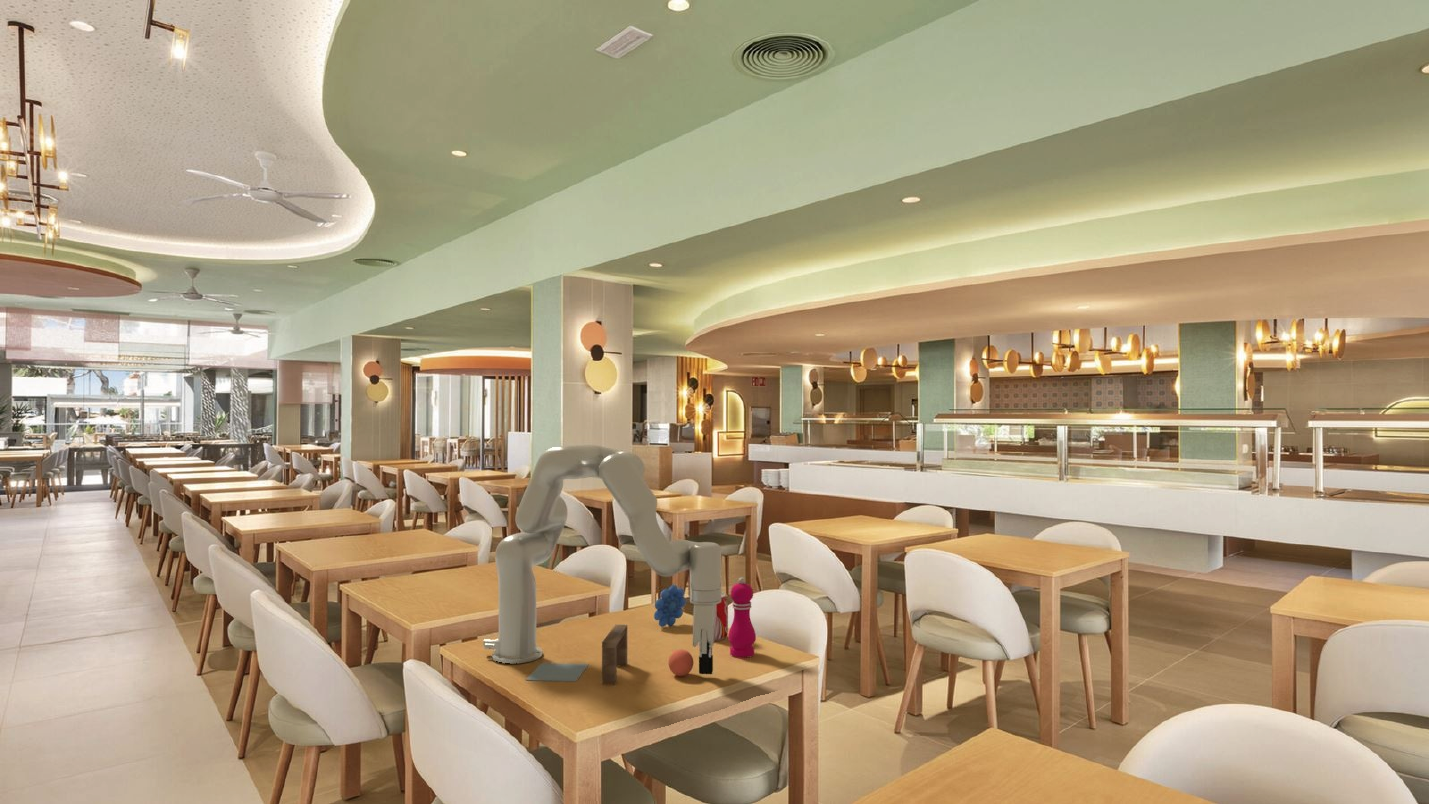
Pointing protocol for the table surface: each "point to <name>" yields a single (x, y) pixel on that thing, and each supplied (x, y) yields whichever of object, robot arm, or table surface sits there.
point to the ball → (681, 662)
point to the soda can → (721, 619)
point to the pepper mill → (741, 621)
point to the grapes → (669, 606)
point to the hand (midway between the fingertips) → (705, 672)
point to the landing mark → (557, 672)
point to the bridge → (614, 653)
